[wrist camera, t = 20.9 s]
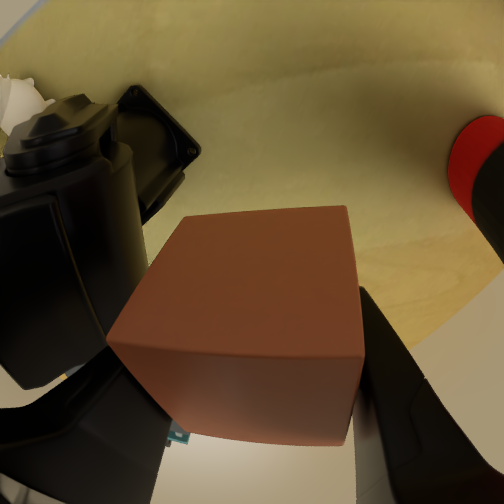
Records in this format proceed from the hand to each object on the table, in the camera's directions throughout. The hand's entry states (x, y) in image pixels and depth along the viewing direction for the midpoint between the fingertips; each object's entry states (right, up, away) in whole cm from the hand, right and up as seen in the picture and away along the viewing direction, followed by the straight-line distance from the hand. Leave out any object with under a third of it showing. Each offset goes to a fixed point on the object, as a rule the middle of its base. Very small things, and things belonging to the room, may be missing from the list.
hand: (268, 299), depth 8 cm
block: (0, +1, +1) cm, 1 cm away
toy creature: (-17, +13, +8) cm, 23 cm away
